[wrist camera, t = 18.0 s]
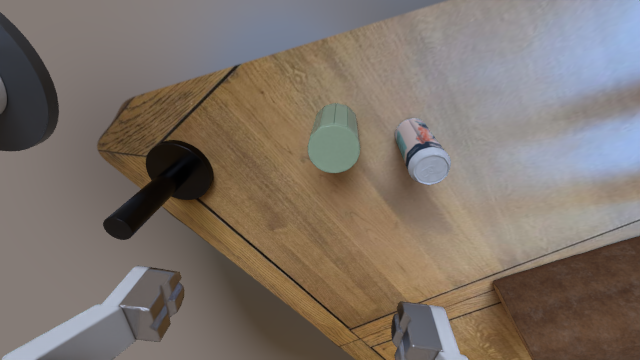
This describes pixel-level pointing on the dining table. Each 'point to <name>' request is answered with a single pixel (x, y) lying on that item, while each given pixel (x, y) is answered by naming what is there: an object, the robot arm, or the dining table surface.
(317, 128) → the green fluted cylinder
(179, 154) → the holder
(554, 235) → the dining table surface
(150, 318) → the robot arm
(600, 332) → the bread
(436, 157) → the beer can
